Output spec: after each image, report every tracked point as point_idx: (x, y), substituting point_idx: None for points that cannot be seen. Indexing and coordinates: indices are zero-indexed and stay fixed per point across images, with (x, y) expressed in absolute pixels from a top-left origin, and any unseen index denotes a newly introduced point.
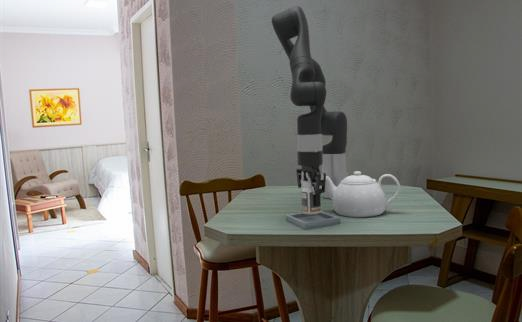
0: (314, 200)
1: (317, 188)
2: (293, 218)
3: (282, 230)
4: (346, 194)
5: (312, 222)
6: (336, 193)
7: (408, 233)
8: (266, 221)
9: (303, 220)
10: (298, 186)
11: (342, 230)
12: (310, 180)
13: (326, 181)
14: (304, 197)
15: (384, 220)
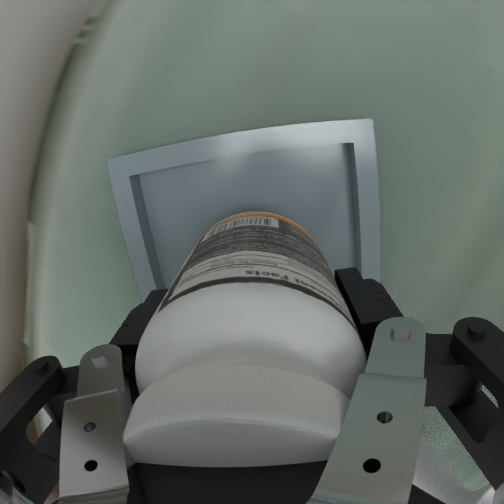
0: (137, 318)
1: (14, 387)
2: (253, 130)
3: (155, 39)
4: None
5: (118, 213)
6: None
7: (44, 424)
8: (390, 20)
9: (273, 205)
10: (475, 324)
11: (75, 311)
12: (61, 459)
13: (455, 499)
14: (204, 263)
15: None
